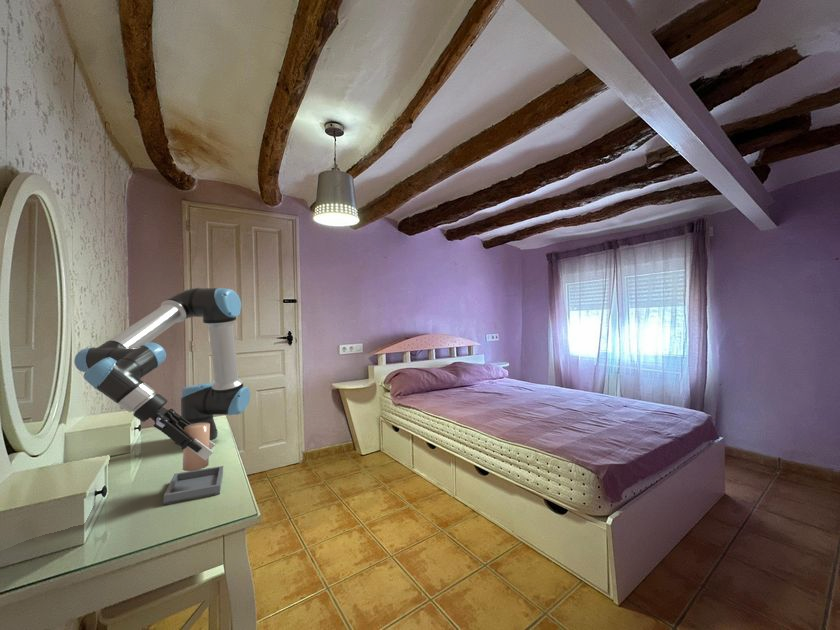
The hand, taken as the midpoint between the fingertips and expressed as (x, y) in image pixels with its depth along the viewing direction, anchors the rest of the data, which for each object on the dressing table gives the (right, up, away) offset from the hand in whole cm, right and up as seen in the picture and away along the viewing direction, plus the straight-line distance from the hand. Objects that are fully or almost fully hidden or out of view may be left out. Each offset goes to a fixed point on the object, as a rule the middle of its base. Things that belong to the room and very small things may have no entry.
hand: (210, 452), depth 100 cm
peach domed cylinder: (-3, -4, -2) cm, 5 cm away
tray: (-3, -10, -2) cm, 11 cm away
